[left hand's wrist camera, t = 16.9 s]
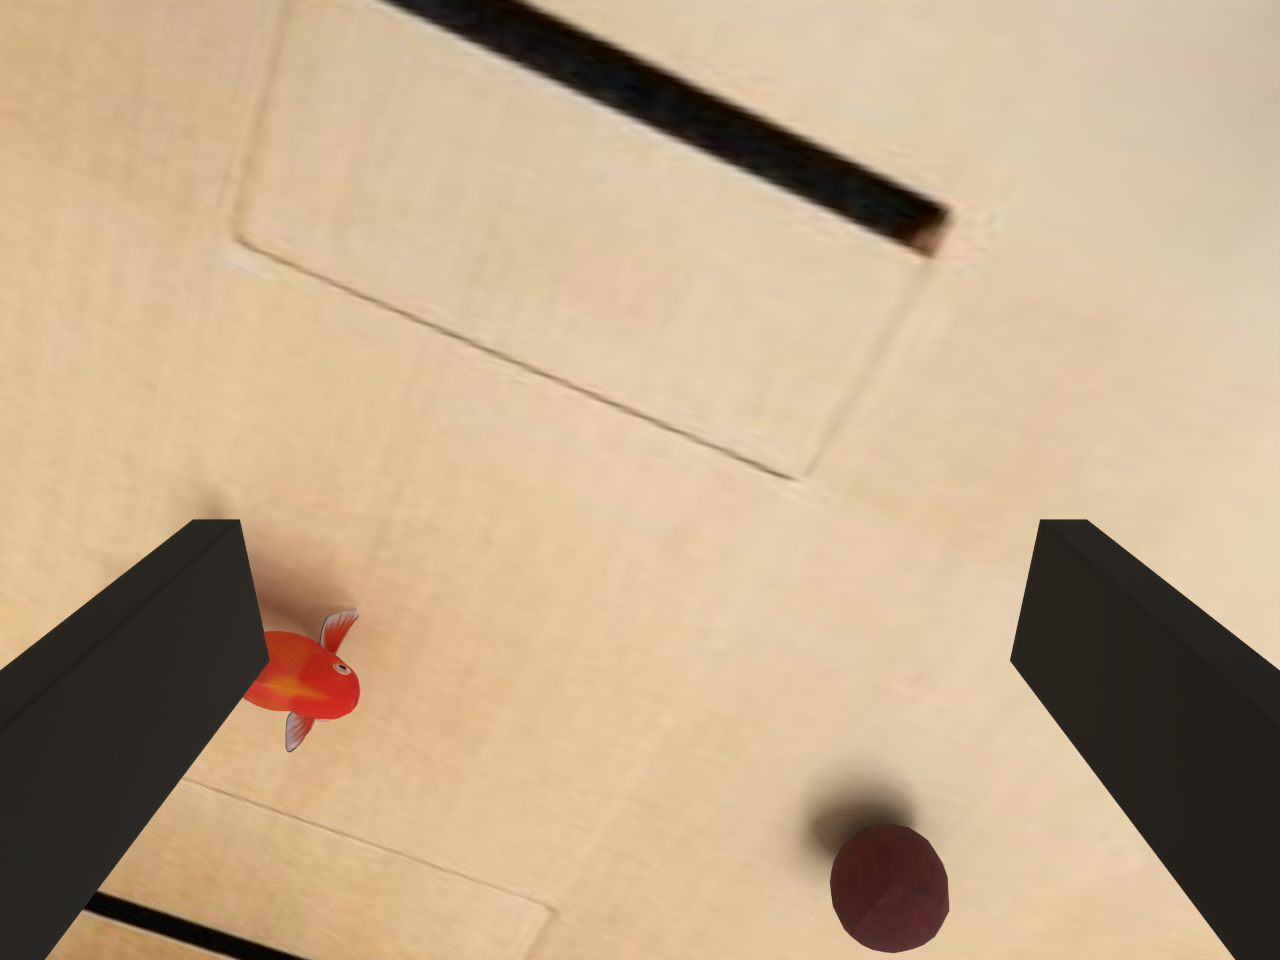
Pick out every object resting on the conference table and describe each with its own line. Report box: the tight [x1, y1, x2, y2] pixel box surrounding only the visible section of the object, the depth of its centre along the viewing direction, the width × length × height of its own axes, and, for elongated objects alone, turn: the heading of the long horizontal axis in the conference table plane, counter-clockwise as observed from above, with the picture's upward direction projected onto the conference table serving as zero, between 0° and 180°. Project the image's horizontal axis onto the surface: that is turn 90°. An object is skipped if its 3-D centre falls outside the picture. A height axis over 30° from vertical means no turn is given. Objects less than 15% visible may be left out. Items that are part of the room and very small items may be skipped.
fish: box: [243, 610, 360, 752], centre depth 43 cm, size 11×16×10 cm
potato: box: [830, 825, 949, 953], centre depth 50 cm, size 7×8×7 cm
